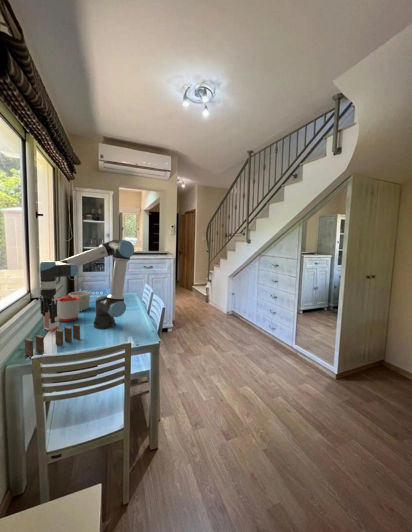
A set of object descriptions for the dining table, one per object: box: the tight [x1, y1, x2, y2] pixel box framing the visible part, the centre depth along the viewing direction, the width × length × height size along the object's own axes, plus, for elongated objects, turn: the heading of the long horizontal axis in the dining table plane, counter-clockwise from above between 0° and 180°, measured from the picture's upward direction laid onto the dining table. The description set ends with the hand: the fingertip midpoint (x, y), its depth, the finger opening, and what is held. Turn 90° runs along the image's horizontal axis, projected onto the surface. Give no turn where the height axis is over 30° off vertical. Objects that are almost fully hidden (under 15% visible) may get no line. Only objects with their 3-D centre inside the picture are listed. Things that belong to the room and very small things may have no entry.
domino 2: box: [35, 334, 45, 354], centre depth 138 cm, size 2×5×9 cm, turn 62°
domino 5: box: [63, 326, 73, 344], centre depth 152 cm, size 2×5×9 cm, turn 62°
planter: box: [67, 290, 91, 312], centre depth 215 cm, size 17×17×15 cm
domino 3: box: [44, 311, 50, 329], centre depth 141 cm, size 2×5×9 cm, turn 61°
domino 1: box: [24, 338, 34, 357], centre depth 133 cm, size 2×5×9 cm, turn 62°
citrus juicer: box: [56, 294, 80, 322], centre depth 191 cm, size 16×17×20 cm
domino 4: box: [54, 328, 64, 347], centre depth 147 cm, size 2×5×9 cm, turn 62°
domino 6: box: [72, 323, 81, 340], centre depth 157 cm, size 2×5×9 cm, turn 62°
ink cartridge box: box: [44, 310, 60, 332], centre depth 170 cm, size 9×5×15 cm, turn 69°
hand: (49, 327), depth 142 cm, fingers closed on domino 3, 5 cm apart
